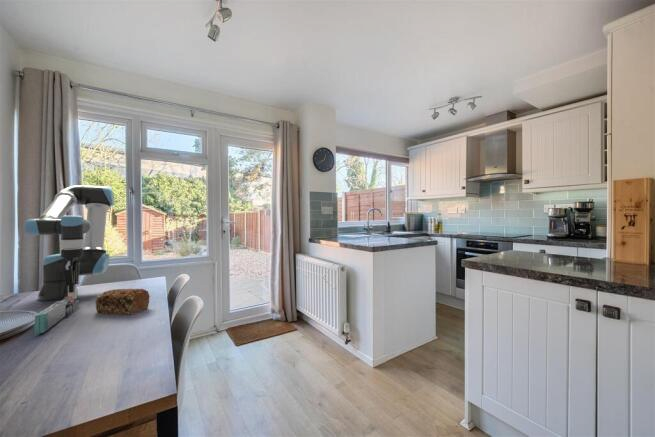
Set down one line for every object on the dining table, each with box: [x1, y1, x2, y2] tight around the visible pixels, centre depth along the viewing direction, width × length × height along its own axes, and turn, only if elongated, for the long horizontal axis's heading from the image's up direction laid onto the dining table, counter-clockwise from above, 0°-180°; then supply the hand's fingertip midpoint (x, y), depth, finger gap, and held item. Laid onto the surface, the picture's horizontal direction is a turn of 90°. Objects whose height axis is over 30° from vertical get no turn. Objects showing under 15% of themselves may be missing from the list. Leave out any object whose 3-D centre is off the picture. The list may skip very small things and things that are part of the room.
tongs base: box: [34, 299, 80, 337], centre depth 111 cm, size 31×4×7 cm, turn 28°
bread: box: [95, 288, 150, 316], centre depth 123 cm, size 19×11×10 cm, turn 81°
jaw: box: [40, 298, 71, 334], centre depth 108 cm, size 23×2×7 cm, turn 27°
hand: (72, 298), depth 124 cm, fingers closed
